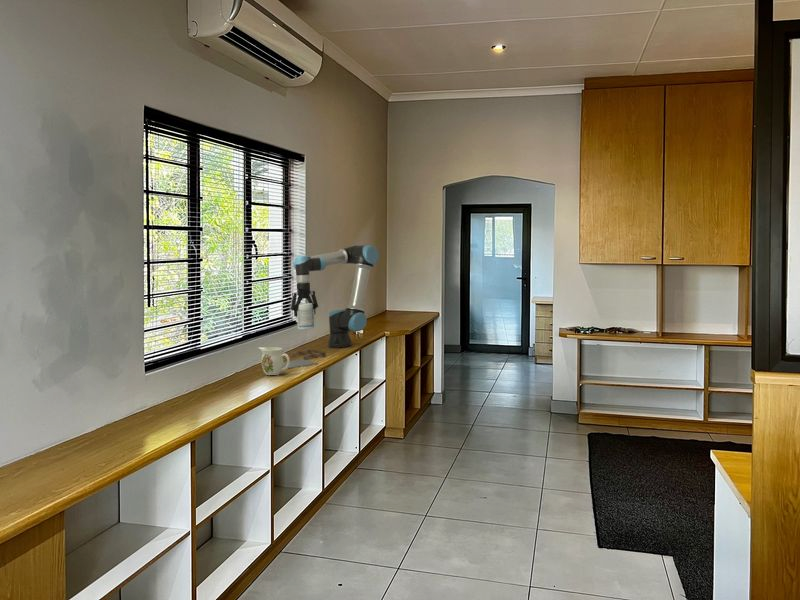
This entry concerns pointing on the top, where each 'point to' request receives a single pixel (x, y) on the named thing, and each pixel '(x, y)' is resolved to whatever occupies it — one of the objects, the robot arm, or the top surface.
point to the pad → (299, 363)
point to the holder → (309, 354)
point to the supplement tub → (305, 316)
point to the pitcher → (273, 360)
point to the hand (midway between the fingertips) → (305, 321)
